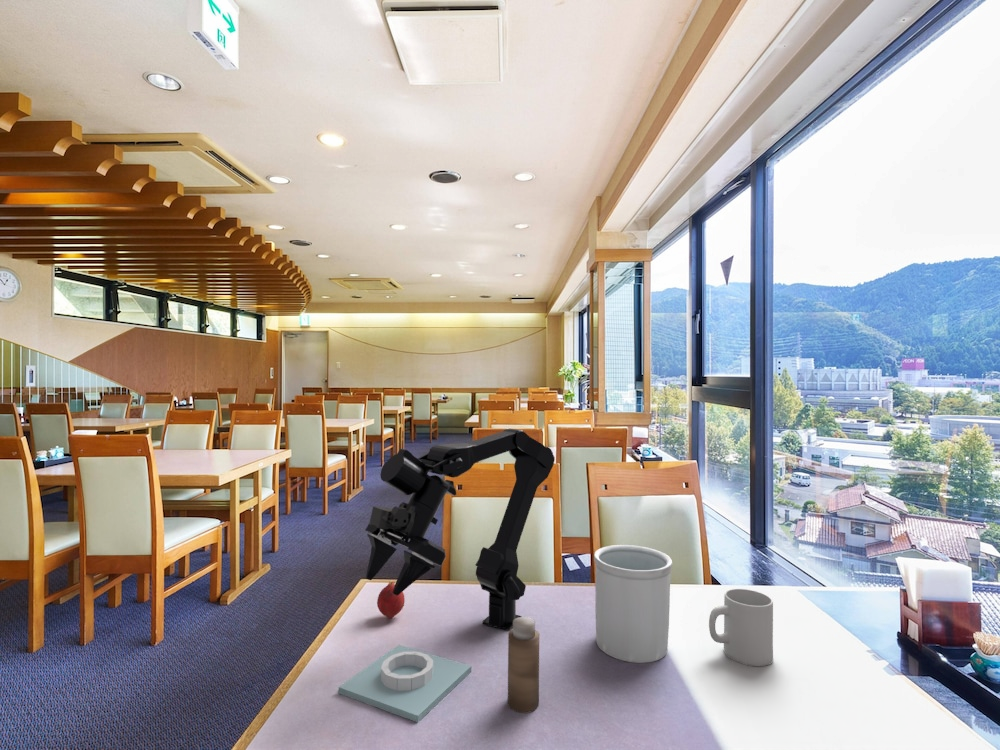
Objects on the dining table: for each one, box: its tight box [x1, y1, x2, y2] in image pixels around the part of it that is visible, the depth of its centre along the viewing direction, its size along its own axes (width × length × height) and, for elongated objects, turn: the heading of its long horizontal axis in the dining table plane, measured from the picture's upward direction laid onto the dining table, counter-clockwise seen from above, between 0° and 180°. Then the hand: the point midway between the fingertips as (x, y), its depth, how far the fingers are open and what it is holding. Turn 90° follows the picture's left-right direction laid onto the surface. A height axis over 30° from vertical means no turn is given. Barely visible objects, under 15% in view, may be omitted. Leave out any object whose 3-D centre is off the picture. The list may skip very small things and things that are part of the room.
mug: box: [708, 588, 774, 667], centre depth 102 cm, size 12×8×11 cm
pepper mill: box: [507, 616, 540, 714], centre depth 86 cm, size 5×5×13 cm
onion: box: [376, 579, 406, 619], centre depth 116 cm, size 6×6×8 cm
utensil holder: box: [593, 544, 673, 664], centre depth 105 cm, size 15×15×18 cm
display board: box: [337, 644, 472, 723], centre depth 92 cm, size 16×16×3 cm
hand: (380, 586), depth 95 cm, fingers open, 9 cm apart
